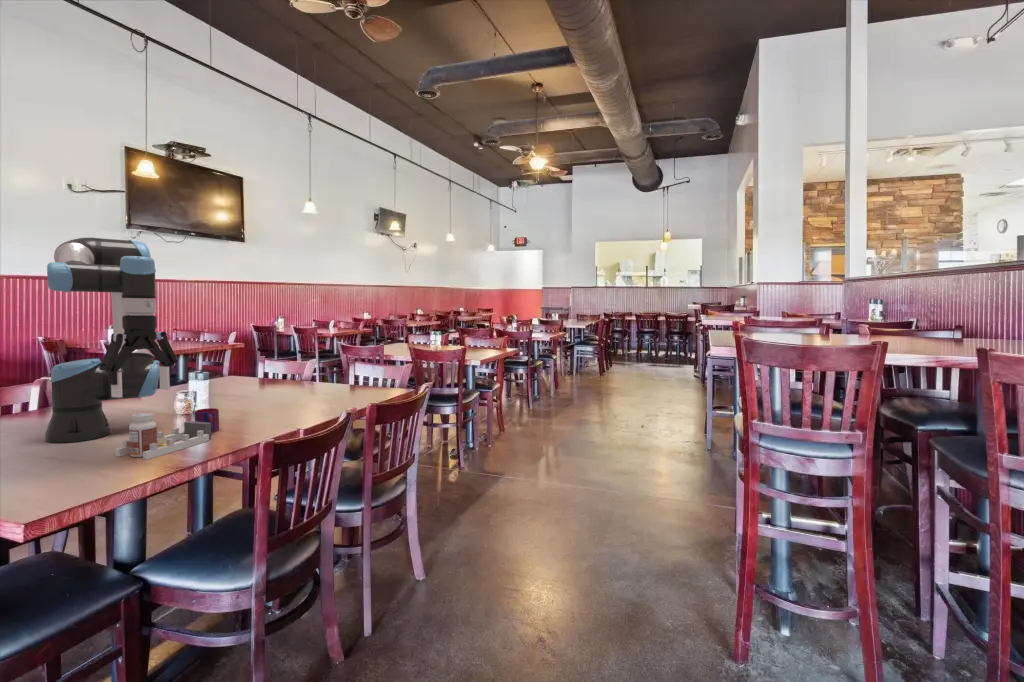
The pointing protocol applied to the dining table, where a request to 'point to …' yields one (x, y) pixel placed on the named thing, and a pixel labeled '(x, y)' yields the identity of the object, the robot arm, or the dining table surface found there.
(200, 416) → the mug
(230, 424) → the dining table surface
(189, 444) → the comb channel
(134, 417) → the pill bottle
